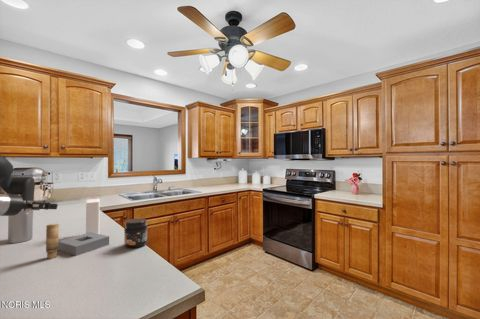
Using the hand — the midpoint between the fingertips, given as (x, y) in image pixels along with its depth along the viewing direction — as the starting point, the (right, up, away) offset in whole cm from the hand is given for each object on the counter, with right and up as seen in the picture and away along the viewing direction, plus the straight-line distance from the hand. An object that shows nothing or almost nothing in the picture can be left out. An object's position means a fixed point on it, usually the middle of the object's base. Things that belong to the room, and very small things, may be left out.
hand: (48, 206), depth 94 cm
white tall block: (-3, -23, +32) cm, 40 cm away
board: (+5, -23, +14) cm, 27 cm away
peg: (-1, -22, +2) cm, 22 cm away
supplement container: (+29, -23, +17) cm, 40 cm away
